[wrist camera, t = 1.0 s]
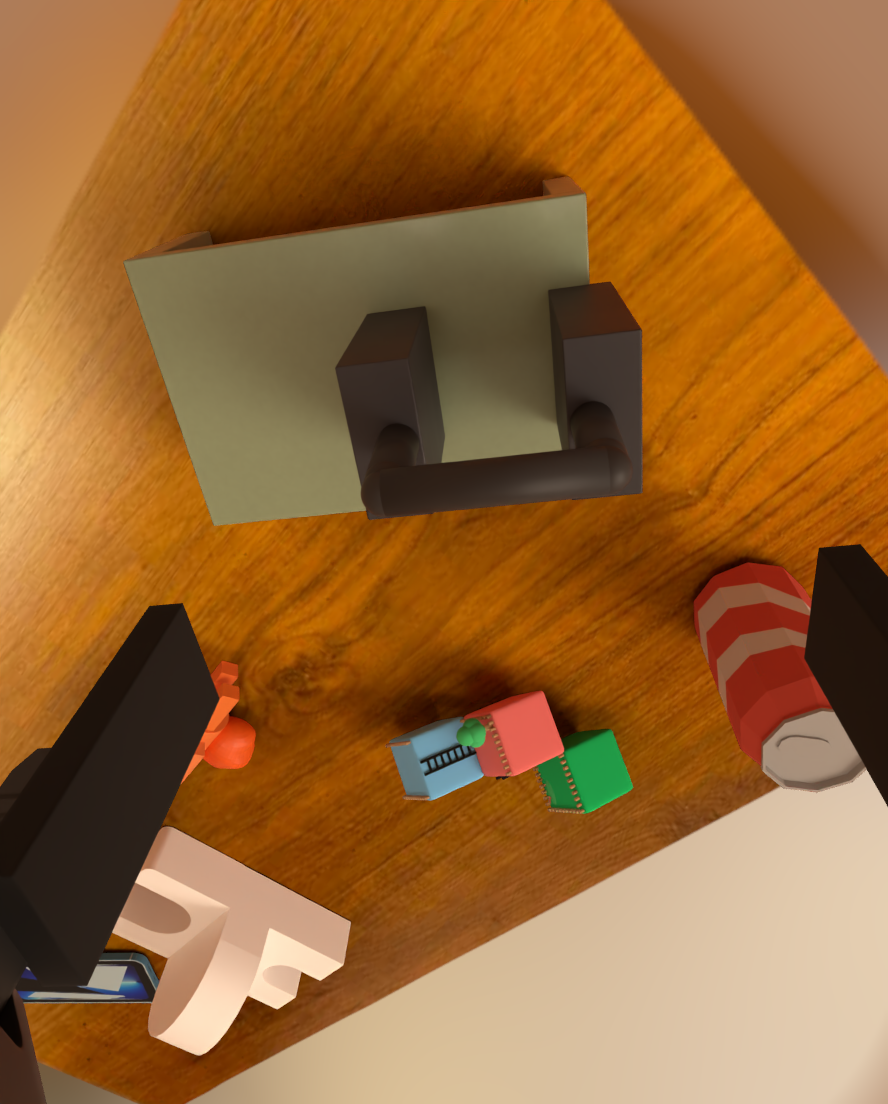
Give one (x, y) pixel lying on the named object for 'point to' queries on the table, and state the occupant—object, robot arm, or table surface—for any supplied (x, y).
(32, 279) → the table surface
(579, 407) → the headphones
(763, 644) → the beverage can
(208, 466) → the shelf
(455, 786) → the building blocks
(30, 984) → the smartphone
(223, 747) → the orange toy bird
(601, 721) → the table surface
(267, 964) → the white thick notched block
